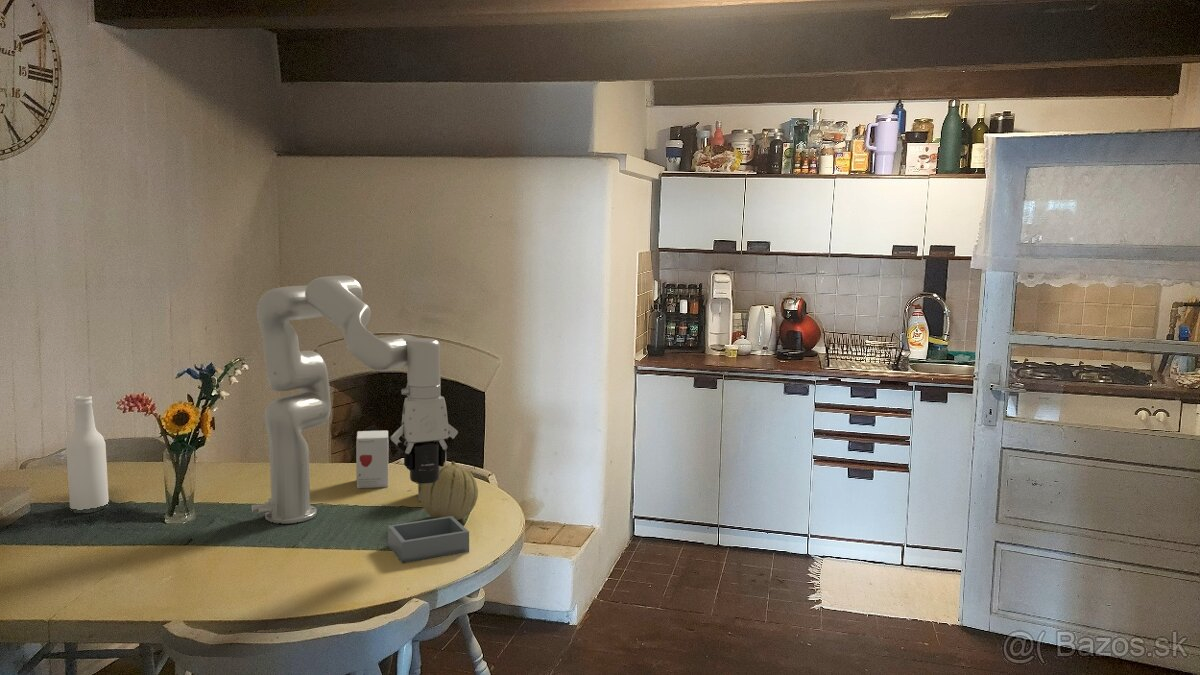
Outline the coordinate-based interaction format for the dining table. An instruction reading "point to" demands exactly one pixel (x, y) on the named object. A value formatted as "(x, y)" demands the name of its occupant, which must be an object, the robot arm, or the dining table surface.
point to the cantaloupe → (450, 493)
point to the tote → (428, 539)
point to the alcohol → (86, 460)
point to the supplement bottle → (425, 462)
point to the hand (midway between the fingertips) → (425, 466)
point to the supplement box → (372, 459)
